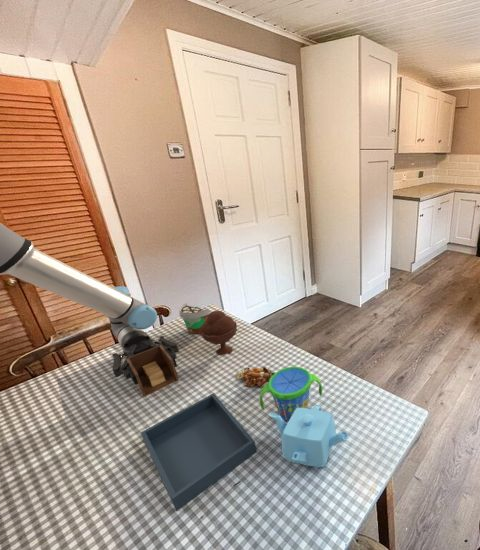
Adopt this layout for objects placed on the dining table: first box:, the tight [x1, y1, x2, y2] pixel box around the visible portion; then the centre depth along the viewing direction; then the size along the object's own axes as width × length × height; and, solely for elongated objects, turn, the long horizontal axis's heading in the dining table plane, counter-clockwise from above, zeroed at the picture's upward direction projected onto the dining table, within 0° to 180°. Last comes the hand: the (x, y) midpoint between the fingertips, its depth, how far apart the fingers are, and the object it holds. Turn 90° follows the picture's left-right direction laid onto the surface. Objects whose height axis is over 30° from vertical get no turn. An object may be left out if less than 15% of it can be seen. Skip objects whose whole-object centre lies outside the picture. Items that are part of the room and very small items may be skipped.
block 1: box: [142, 362, 159, 381], centre depth 91 cm, size 3×3×3 cm
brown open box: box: [125, 344, 180, 398], centre depth 89 cm, size 11×9×8 cm
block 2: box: [146, 367, 166, 387], centre depth 89 cm, size 3×3×3 cm
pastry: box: [235, 366, 276, 388], centre depth 90 cm, size 7×12×4 cm, turn 78°
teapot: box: [269, 405, 349, 469], centre depth 66 cm, size 18×14×10 cm
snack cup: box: [259, 366, 323, 422], centre depth 78 cm, size 16×10×10 cm
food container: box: [179, 303, 211, 336], centre depth 113 cm, size 12×6×10 cm, turn 68°
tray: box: [140, 392, 257, 512], centre depth 69 cm, size 22×17×4 cm
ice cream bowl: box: [200, 310, 238, 356], centre depth 101 cm, size 11×11×15 cm
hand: (155, 371), depth 85 cm, fingers closed on brown open box, 9 cm apart
